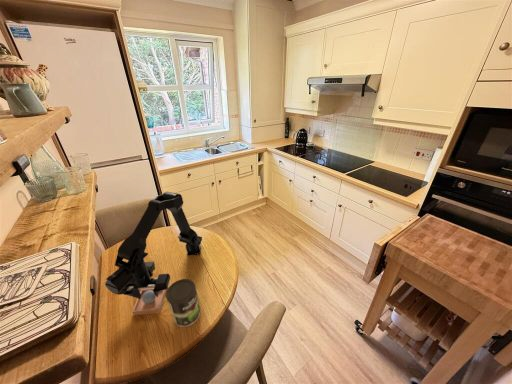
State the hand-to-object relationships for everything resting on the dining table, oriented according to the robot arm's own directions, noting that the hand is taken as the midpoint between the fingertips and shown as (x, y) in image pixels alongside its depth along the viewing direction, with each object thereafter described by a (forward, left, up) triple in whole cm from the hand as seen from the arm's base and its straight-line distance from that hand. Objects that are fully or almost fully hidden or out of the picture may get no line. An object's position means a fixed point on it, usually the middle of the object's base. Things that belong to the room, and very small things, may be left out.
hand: (149, 297), depth 87 cm
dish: (0, 0, -3) cm, 3 cm away
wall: (+1, -6, -3) cm, 7 cm away
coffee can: (-16, +7, -3) cm, 18 cm away
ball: (0, 0, -2) cm, 2 cm away
